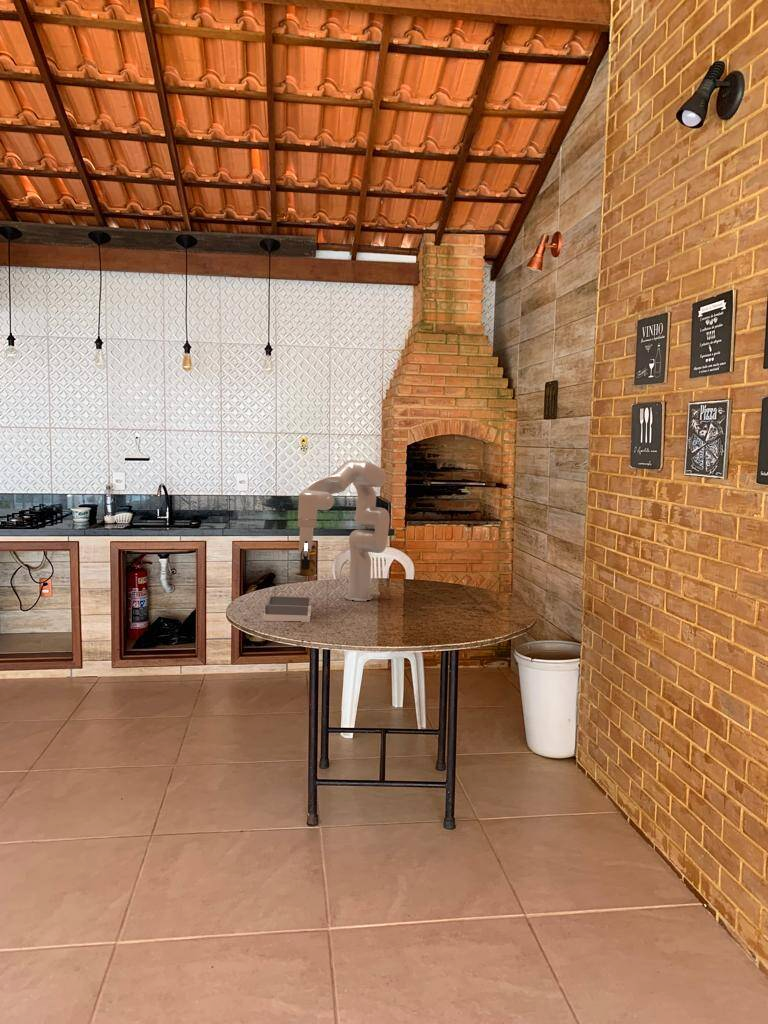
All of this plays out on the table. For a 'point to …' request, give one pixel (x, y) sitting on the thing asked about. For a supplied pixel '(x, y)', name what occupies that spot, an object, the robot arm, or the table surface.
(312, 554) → the condiment
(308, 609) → the dock
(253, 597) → the table surface
